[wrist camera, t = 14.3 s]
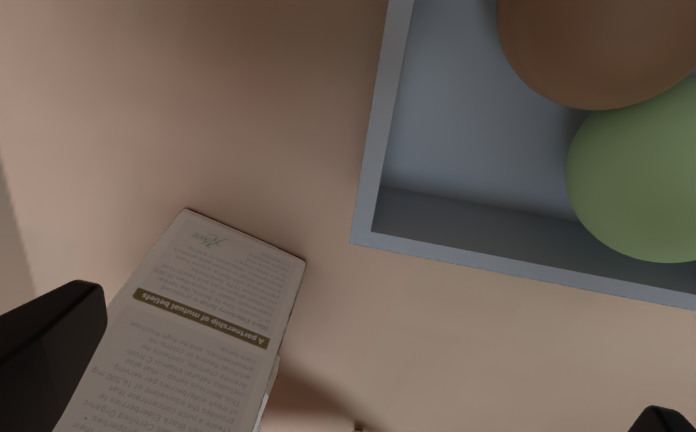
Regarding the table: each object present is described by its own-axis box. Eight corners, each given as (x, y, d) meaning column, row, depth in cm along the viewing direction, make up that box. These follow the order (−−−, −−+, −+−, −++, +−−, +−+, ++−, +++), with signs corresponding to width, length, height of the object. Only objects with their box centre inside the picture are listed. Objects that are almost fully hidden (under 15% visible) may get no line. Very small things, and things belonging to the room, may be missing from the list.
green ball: (671, 212, 18) (755, 315, 14) (526, 189, 18) (565, 285, 14) (752, 67, 15) (889, 141, 11) (581, 41, 15) (651, 104, 11)
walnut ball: (632, 87, 16) (706, 161, 11) (467, 59, 16) (481, 122, 12) (719, -107, 13) (859, -102, 9) (518, -138, 13) (560, -148, 9)
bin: (688, 251, 19) (733, 319, 16) (362, 188, 19) (348, 243, 16) (940, -153, 12) (1098, -164, 9) (433, -226, 13) (430, -258, 10)
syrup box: (181, 202, 21) (-169, 631, 9) (314, 260, 22) (154, 737, 10) (154, 294, 24) (-132, 706, 12) (272, 343, 25) (110, 782, 13)
